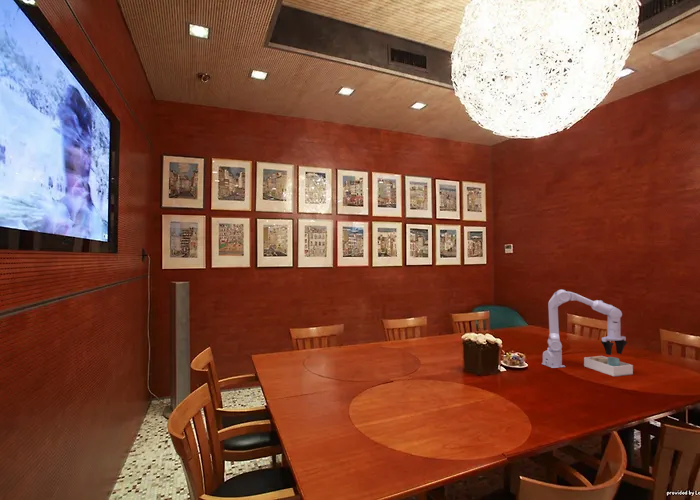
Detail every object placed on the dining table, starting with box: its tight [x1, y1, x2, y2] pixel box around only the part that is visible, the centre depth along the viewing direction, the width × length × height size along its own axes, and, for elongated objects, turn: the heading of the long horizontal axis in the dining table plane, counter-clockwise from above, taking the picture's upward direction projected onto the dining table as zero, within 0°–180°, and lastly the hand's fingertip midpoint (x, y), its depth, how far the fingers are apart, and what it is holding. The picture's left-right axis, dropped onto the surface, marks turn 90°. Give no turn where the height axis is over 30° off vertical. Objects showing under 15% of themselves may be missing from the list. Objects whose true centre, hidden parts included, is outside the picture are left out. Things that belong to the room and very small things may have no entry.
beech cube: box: [591, 355, 608, 365], centre depth 196 cm, size 5×5×5 cm
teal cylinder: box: [607, 356, 620, 367], centre depth 189 cm, size 5×5×7 cm
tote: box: [583, 355, 634, 377], centre depth 192 cm, size 13×17×5 cm
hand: (613, 354), depth 189 cm, fingers open, 7 cm apart
